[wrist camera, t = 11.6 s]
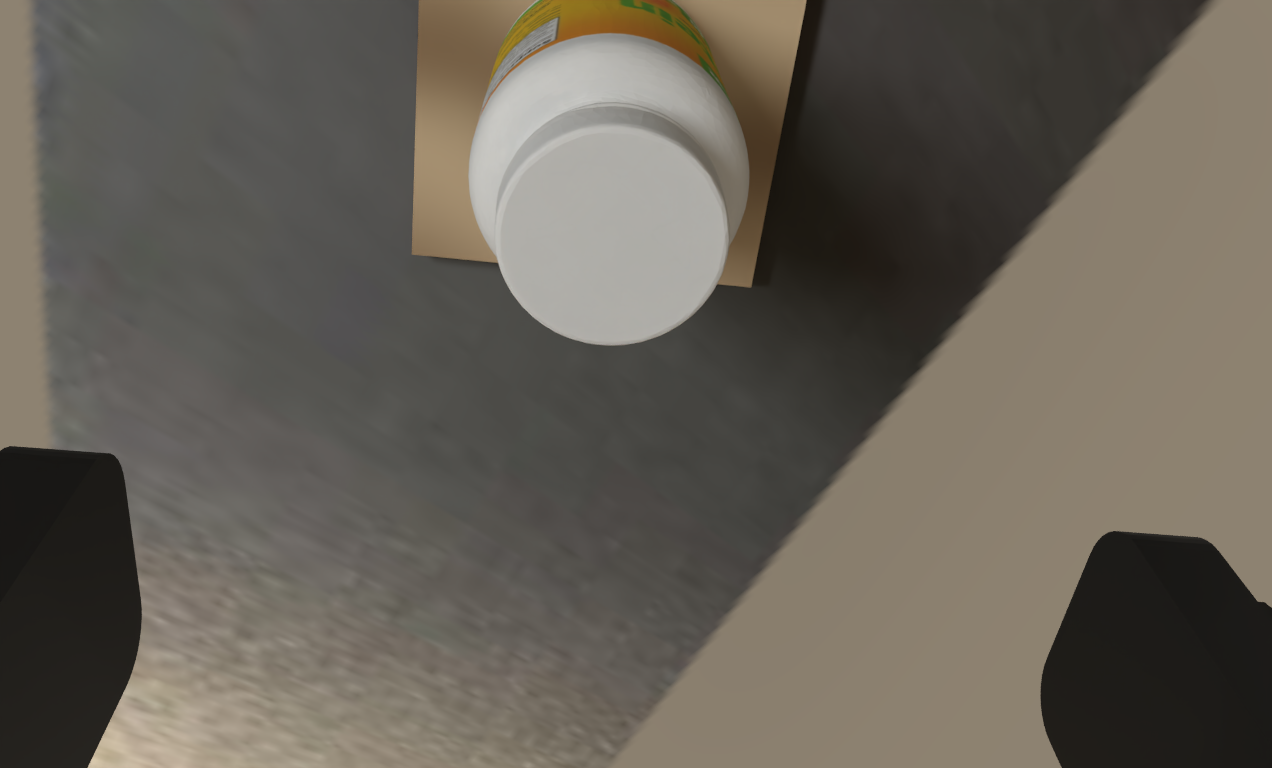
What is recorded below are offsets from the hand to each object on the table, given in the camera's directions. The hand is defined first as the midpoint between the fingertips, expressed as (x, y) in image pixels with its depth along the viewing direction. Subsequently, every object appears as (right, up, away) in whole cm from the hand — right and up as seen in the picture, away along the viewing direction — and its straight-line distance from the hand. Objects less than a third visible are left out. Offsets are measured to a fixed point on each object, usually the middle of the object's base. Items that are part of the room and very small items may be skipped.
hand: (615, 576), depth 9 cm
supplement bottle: (-1, +9, +18) cm, 20 cm away
